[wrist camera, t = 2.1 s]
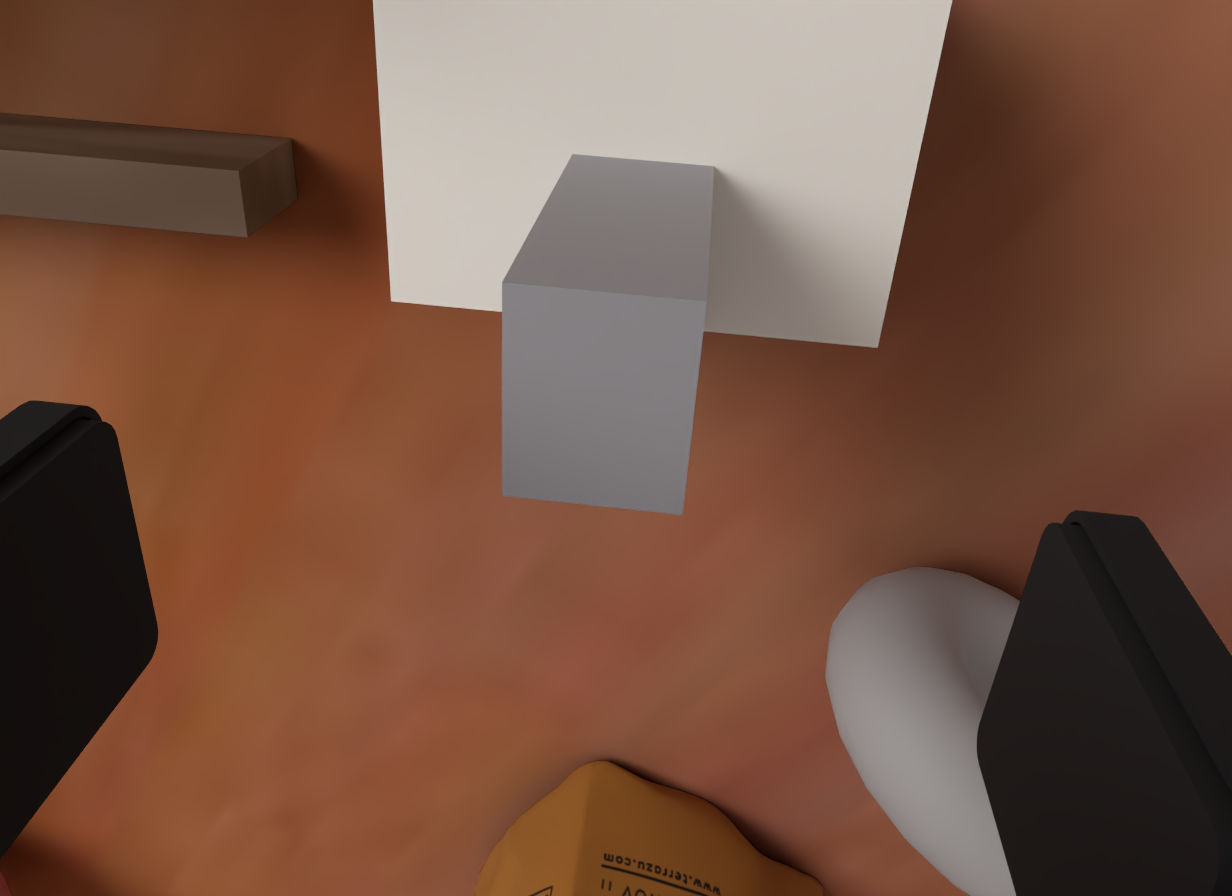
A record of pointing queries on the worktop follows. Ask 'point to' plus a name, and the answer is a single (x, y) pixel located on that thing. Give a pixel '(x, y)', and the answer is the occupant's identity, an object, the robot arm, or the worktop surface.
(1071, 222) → the worktop surface
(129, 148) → the wall board
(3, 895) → the decorative fruit
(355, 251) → the worktop surface
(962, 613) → the donut
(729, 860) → the coffee package
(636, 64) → the white block gray post
